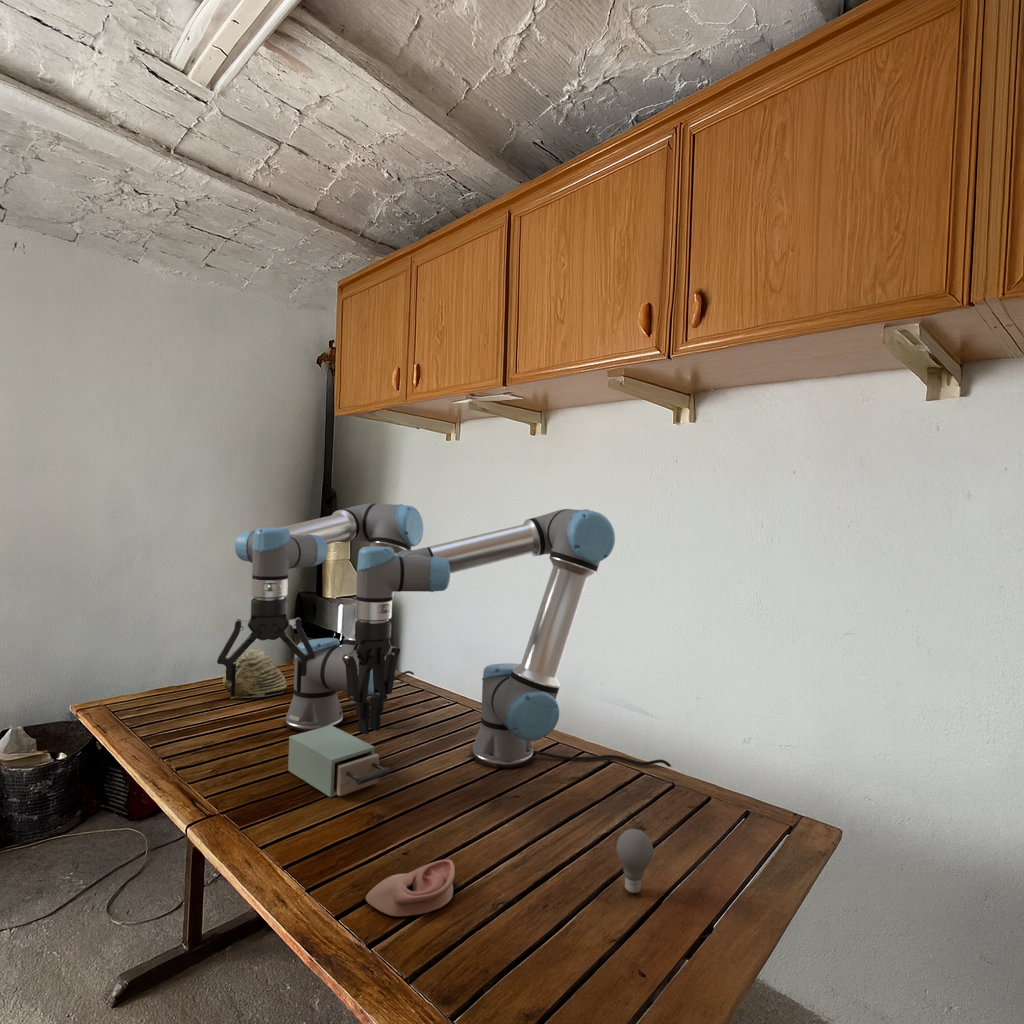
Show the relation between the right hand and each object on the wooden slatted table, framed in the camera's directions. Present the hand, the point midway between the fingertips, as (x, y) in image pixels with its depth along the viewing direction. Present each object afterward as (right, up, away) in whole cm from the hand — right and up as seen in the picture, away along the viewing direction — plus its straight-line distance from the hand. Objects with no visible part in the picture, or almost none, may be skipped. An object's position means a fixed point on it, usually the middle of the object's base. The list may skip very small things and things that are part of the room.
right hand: (369, 730), depth 134 cm
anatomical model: (+14, -16, -32) cm, 38 cm away
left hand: (-24, +6, +7) cm, 26 cm away
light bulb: (+50, -17, -28) cm, 60 cm away
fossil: (-50, -11, +64) cm, 82 cm away
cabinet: (-11, -14, +10) cm, 20 cm away
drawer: (-7, -13, +6) cm, 16 cm away
